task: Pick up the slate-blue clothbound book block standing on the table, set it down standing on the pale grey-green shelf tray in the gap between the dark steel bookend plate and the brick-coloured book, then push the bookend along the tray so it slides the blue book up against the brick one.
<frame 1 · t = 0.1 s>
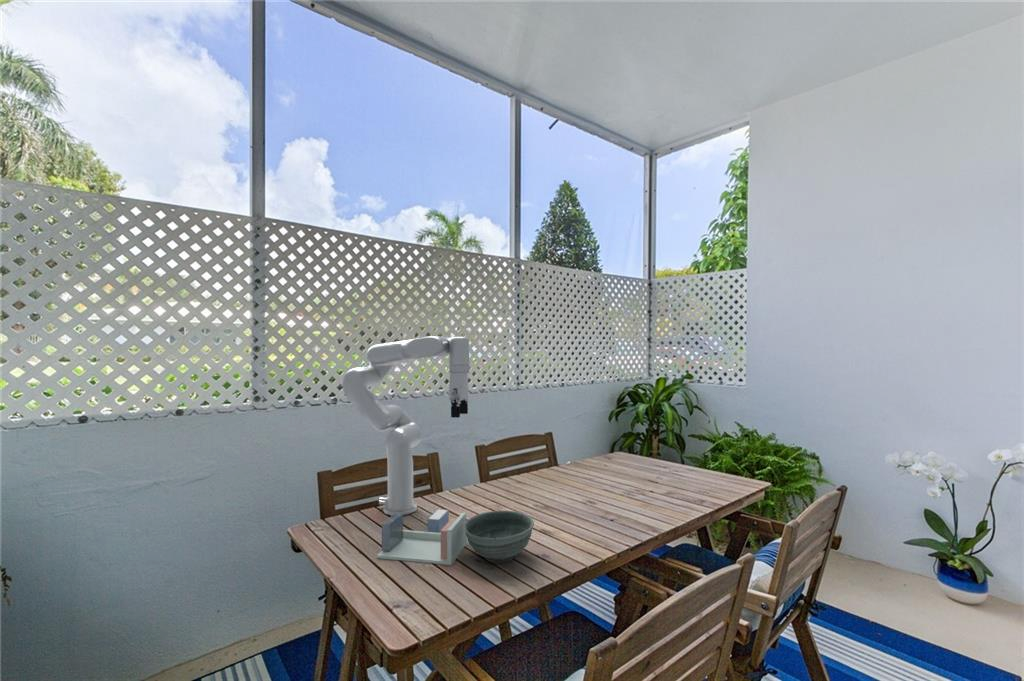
hand: (459, 415, 165), 37 cm above the table, tool pointing down, fingers open, 9 cm apart
shelf: (423, 550, 134), on the table
bookend: (392, 531, 136), point 5 cm above the table, slide at 0.0 cm
book: (438, 532, 148), on the table
bowl: (499, 556, 130), on the table
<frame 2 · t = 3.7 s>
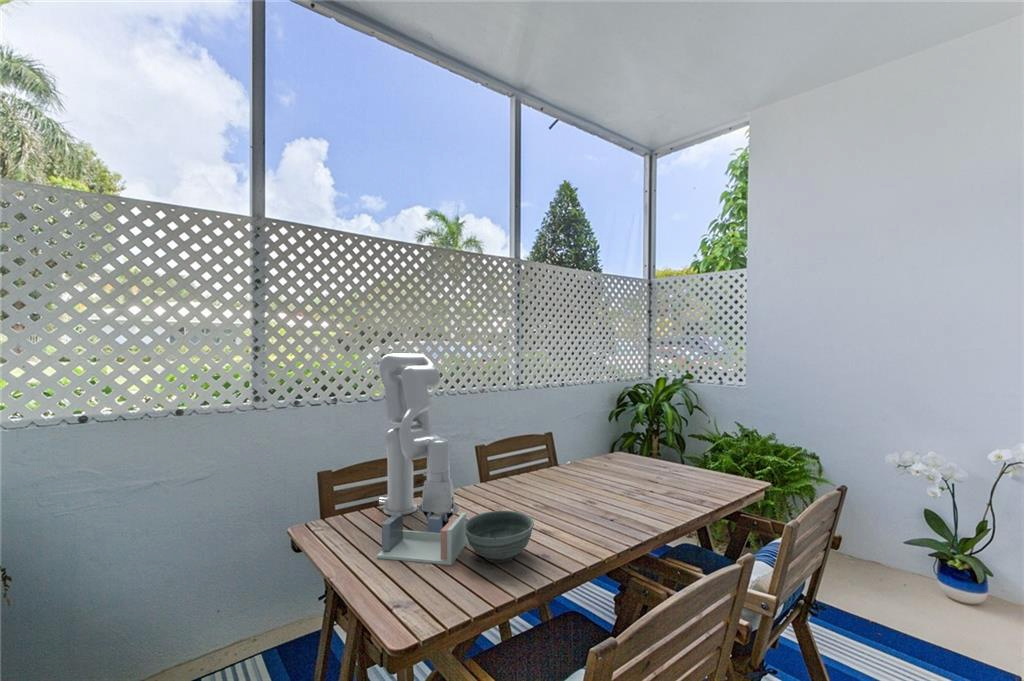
hand: (438, 530, 148), 1 cm above the table, tool pointing down, fingers closed on book, 4 cm apart
book: (438, 532, 148), on the table, touching gripper
everything else where it was.
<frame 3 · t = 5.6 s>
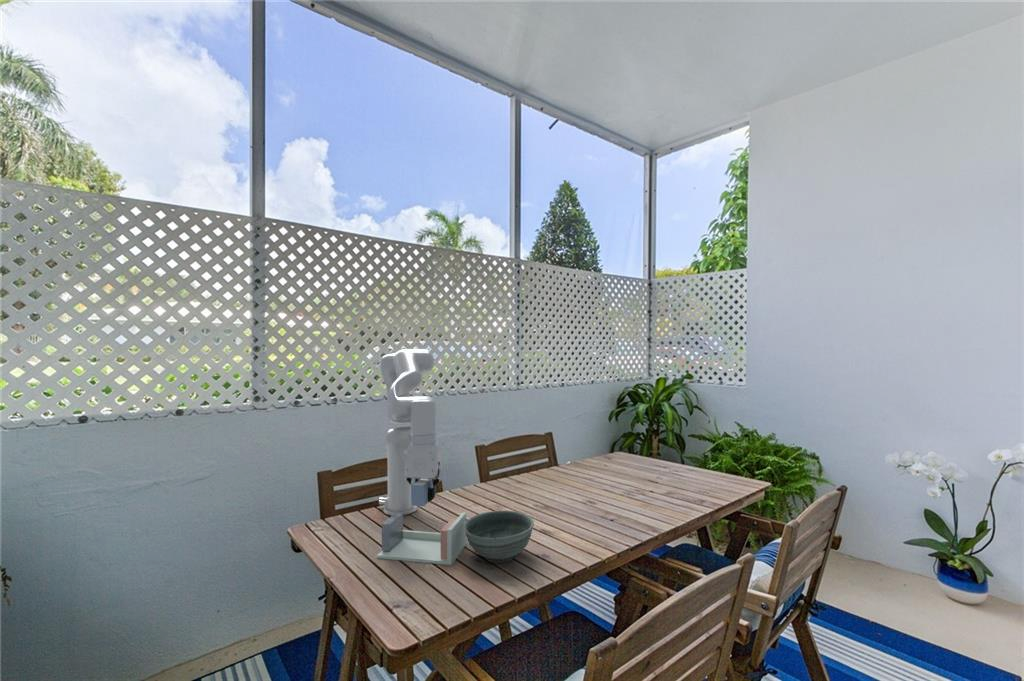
hand: (423, 499, 135), 15 cm above the table, tool pointing down, fingers closed on book, 4 cm apart
book: (423, 501, 135), point 15 cm above the table, touching gripper
everything else where it was.
when the fingers open (2 cm above the table, at t = 7.9 s): book stays where it is, resting on shelf.
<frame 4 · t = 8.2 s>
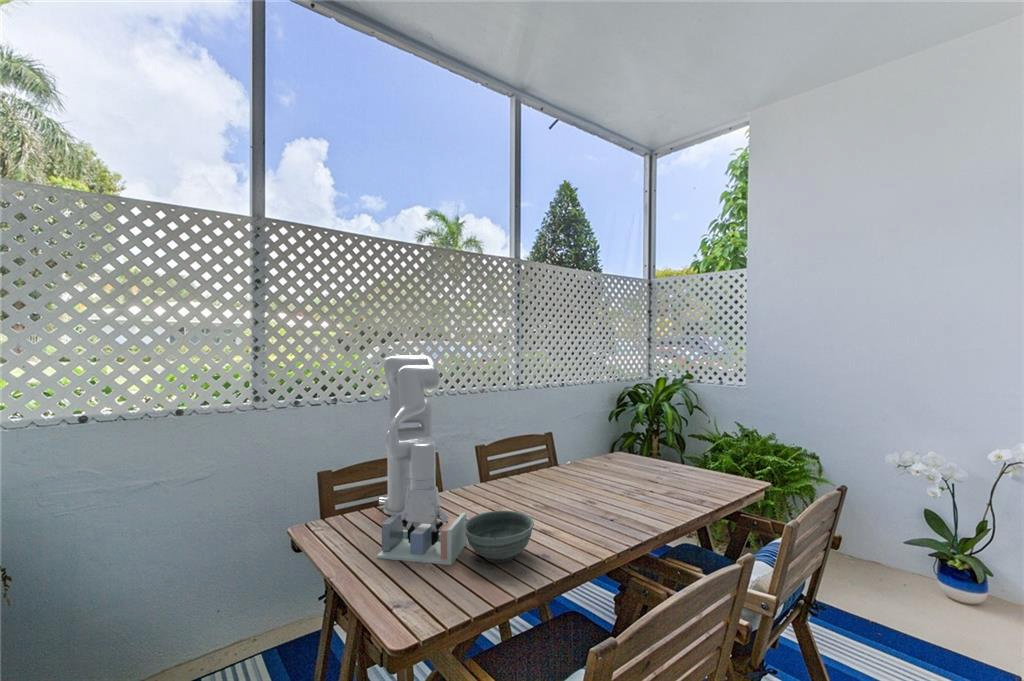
hand: (423, 541, 134), 3 cm above the table, tool pointing down, fingers open, 6 cm apart
book: (422, 547, 134), point 1 cm above the table, touching shelf
everything else where it was.
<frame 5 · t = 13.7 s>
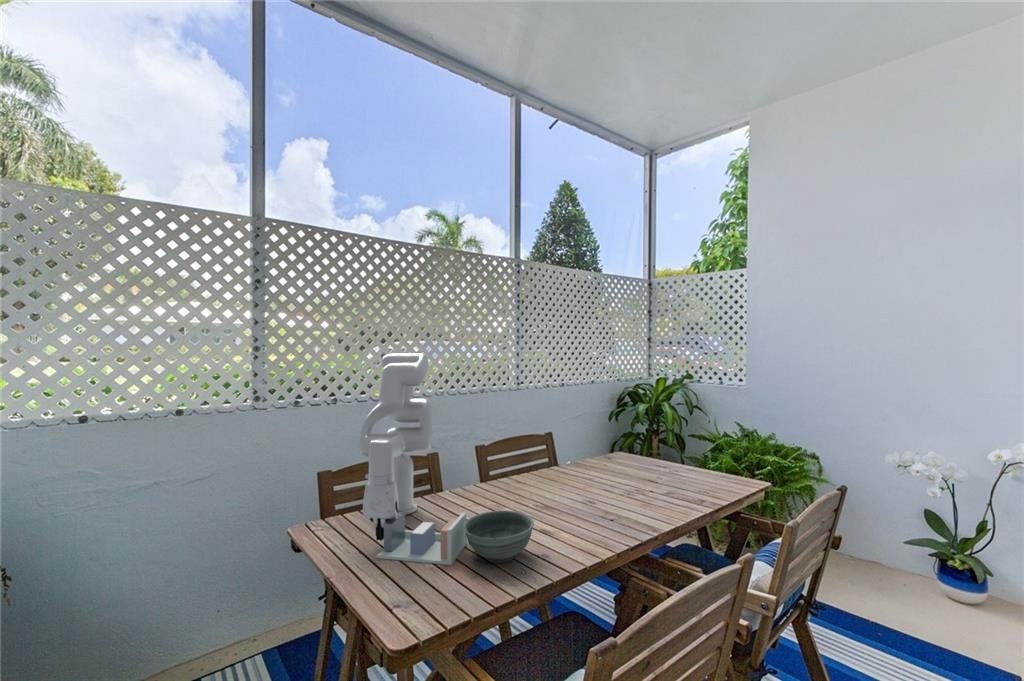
hand: (381, 538, 137), 3 cm above the table, tool pointing down, fingers closed
bookend: (394, 531, 136), point 5 cm above the table, slide at 0.7 cm, touching gripper
everything else where it was.
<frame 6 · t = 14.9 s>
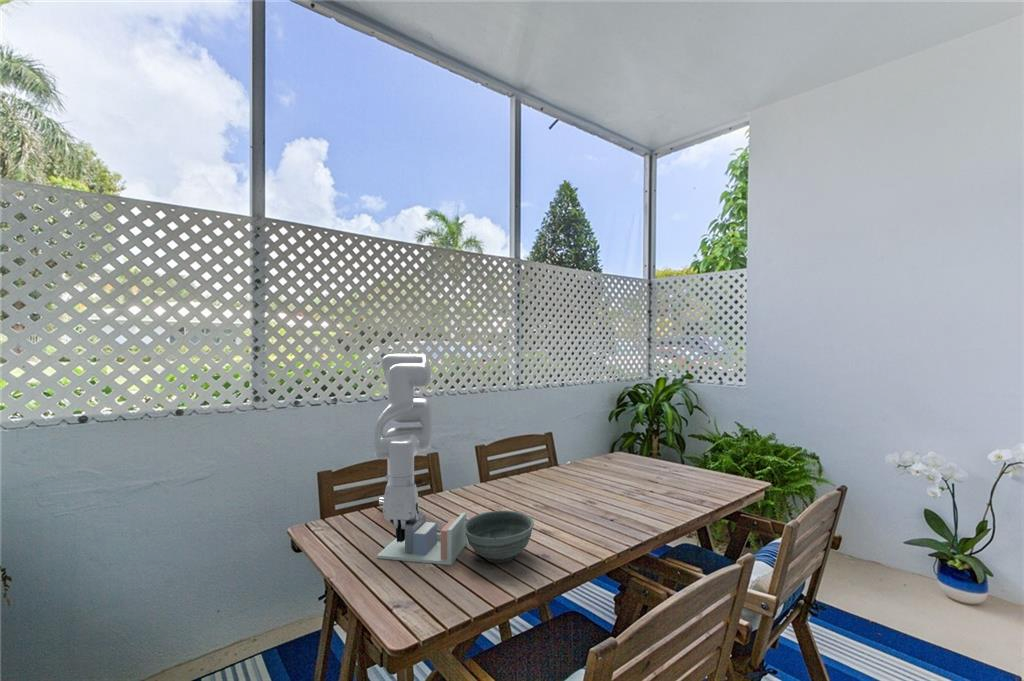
hand: (401, 540, 136), 3 cm above the table, tool pointing down, fingers closed
bookend: (415, 533, 135), point 5 cm above the table, slide at 7.5 cm, touching gripper
book: (425, 548, 134), point 1 cm above the table
everything else where it was.
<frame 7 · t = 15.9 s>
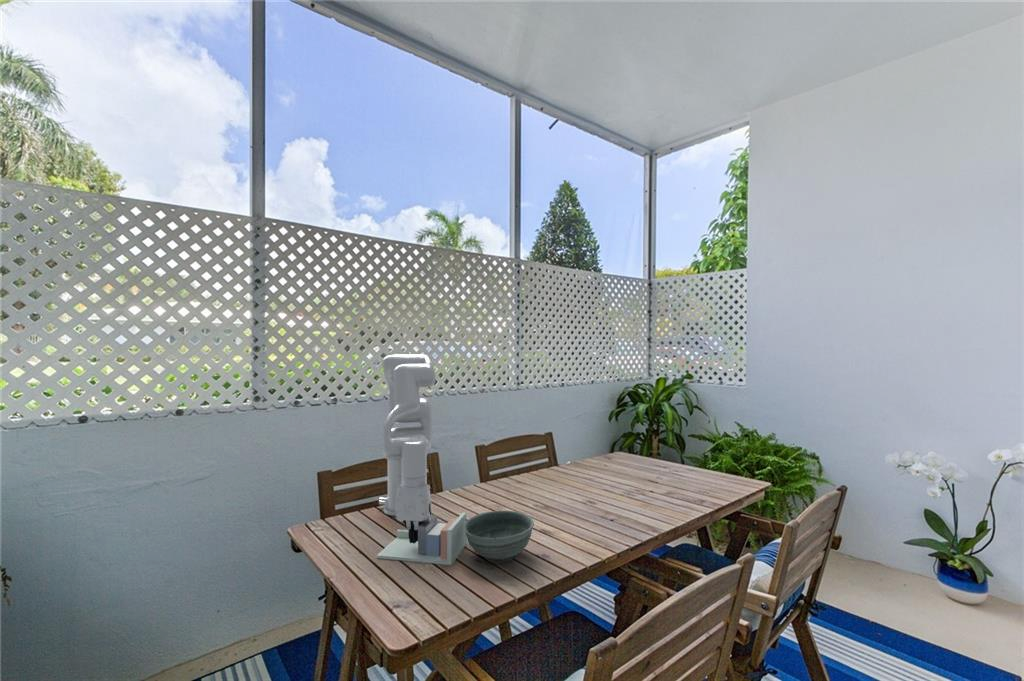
hand: (414, 541, 135), 3 cm above the table, tool pointing down, fingers closed
bookend: (428, 534, 134), point 5 cm above the table, slide at 11.6 cm, touching book, gripper
book: (438, 549, 133), point 1 cm above the table, touching bookend, shelf
everything else where it was.
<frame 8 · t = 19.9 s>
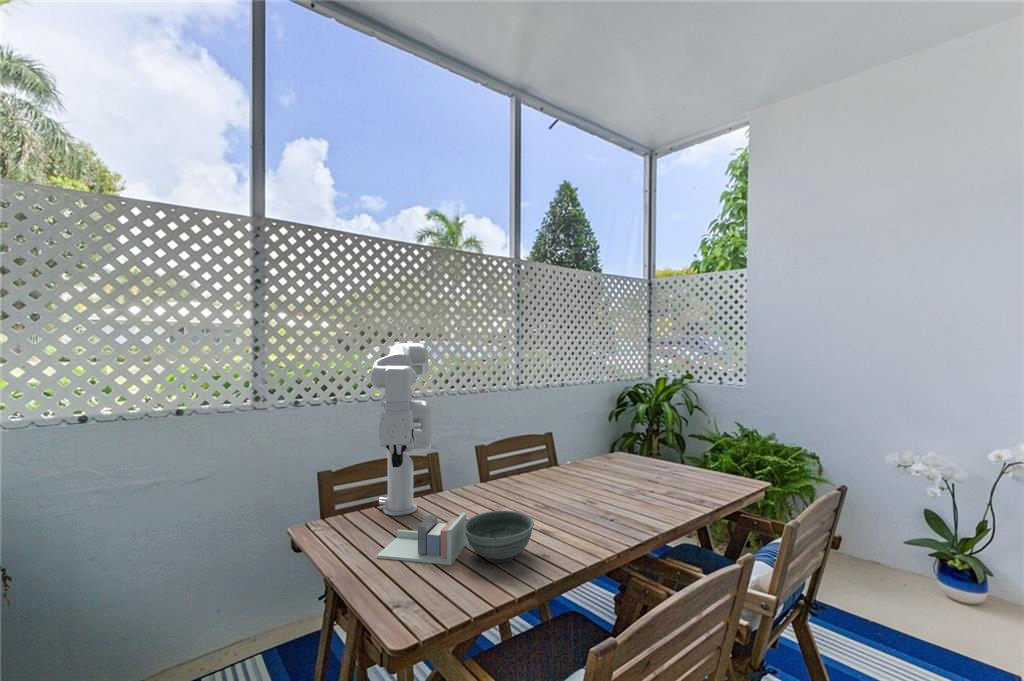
hand: (397, 466, 137), 25 cm above the table, tool pointing down, fingers closed
bookend: (427, 534, 134), point 5 cm above the table, slide at 11.5 cm
book: (438, 549, 133), point 1 cm above the table, touching shelf
everything else where it was.
at the end: book inside the target area on the shelf (0.8 cm from its centre), point 0.8 cm above the shelf's base; book tilted 0°; bookend slide at 11.5 cm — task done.
